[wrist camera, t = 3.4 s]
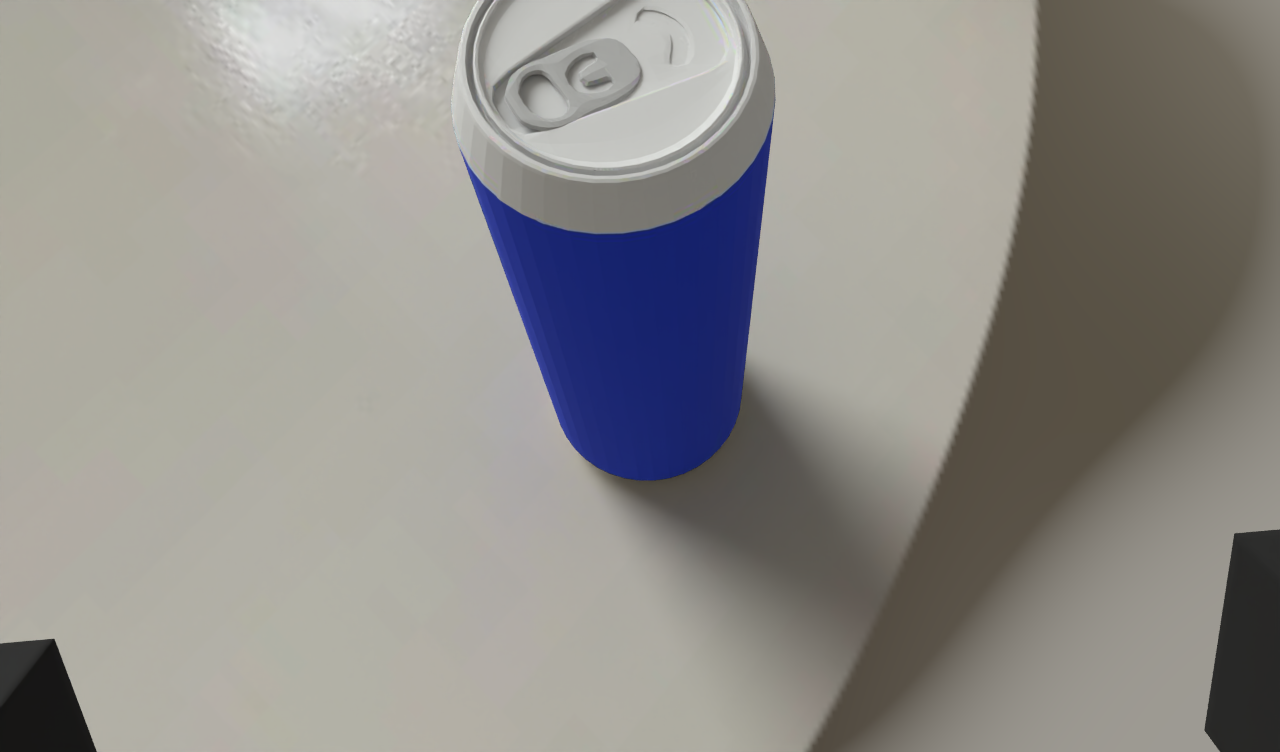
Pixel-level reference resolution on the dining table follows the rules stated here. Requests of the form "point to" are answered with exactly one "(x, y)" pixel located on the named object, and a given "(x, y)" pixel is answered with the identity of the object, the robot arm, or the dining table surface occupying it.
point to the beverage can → (624, 208)
